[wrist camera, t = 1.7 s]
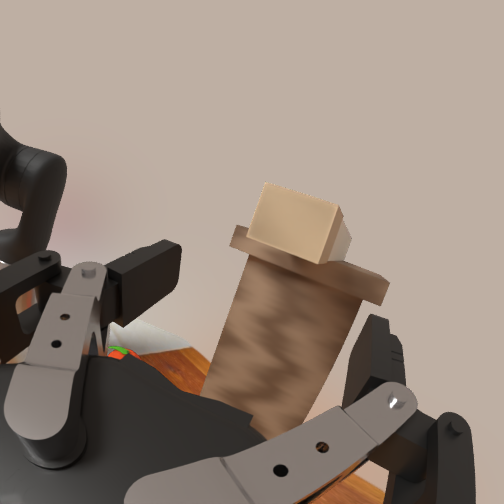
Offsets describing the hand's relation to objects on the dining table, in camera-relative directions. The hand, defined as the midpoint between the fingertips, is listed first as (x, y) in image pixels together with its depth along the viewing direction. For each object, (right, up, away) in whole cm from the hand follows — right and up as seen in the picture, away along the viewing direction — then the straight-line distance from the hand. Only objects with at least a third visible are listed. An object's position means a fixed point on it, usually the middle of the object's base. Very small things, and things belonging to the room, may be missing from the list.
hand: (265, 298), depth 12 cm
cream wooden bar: (+5, +2, +15) cm, 16 cm away
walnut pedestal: (-4, -28, +22) cm, 36 cm away
